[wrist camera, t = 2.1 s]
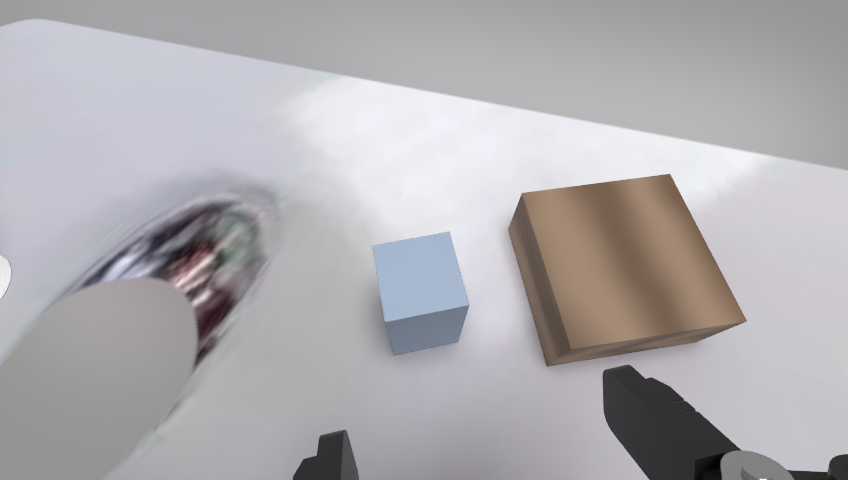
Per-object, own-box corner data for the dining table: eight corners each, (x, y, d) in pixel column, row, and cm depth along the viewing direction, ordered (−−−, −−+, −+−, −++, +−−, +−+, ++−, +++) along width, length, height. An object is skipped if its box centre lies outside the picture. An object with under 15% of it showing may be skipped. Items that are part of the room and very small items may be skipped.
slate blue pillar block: (394, 355, 32) (384, 322, 24) (383, 294, 34) (372, 245, 26) (457, 342, 32) (469, 305, 24) (443, 282, 34) (449, 231, 26)
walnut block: (546, 366, 32) (571, 349, 26) (507, 230, 37) (522, 193, 32) (693, 342, 33) (746, 321, 27) (635, 213, 38) (669, 174, 33)
